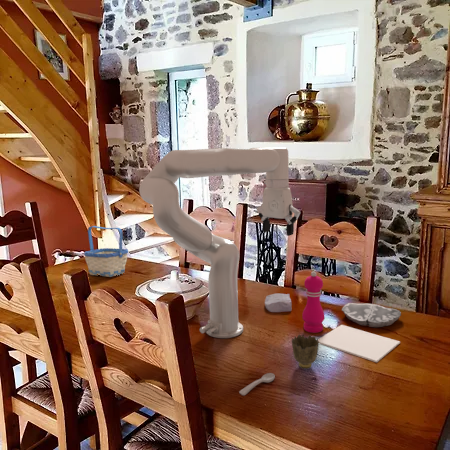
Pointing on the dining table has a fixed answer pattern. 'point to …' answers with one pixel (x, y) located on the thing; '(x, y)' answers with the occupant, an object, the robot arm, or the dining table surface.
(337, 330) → the white mat
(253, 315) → the dining table surface
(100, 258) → the basket
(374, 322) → the brain slice
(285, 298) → the stone block
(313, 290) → the pepper mill
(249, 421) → the dining table surface
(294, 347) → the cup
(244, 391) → the spoon
